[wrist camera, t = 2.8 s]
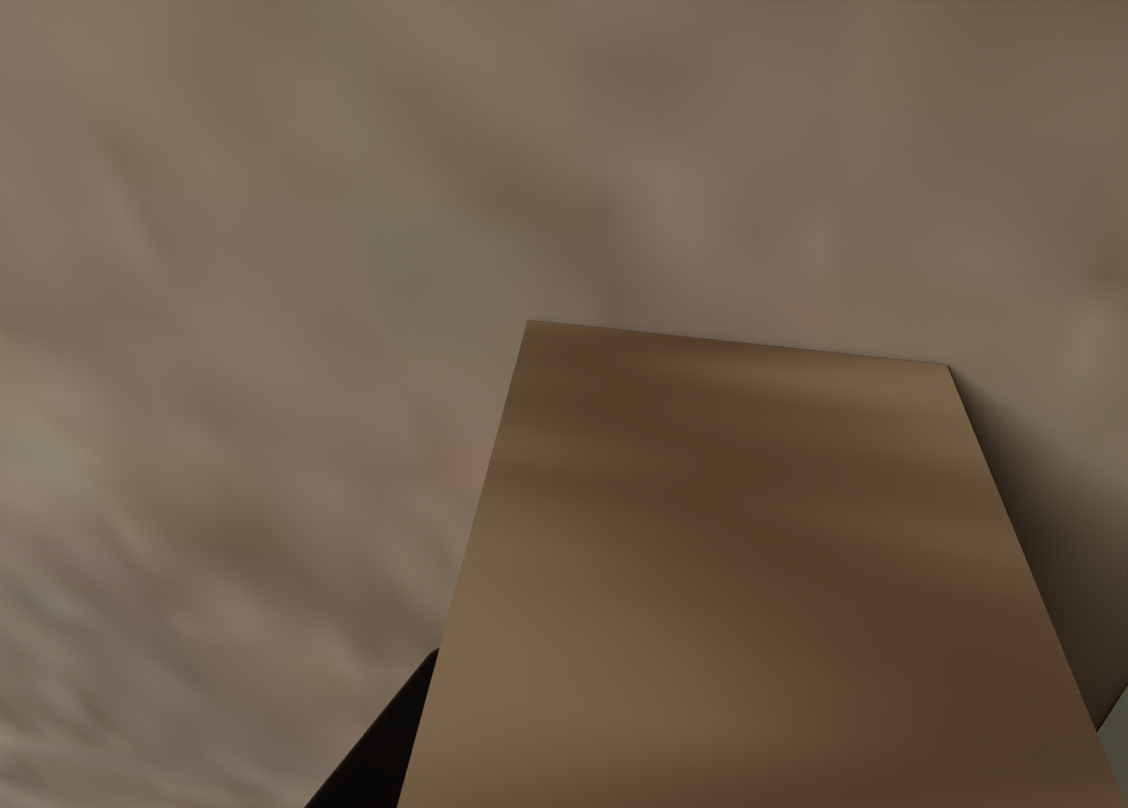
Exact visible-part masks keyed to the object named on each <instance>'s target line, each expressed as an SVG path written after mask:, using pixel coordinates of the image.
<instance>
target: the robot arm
mask: <svg viewBox="0 0 1128 808" xmlns="http://www.w3.org/2000/svg"><path fill="white" fill-rule="evenodd" d="M439 649H440V648H437V649H435V650H433V651H432V652H431V653H430V654H429V655H428V656H427V657H426V658H425V660H424V661H423V662H422V663H421V665H420V666H419V667H418V668H417V670H416V671H415V672H414V673H413V674H412V676H411V677H410V678H409V679H408V681H407V682H406V683H405V684H404V685H403V687H402V688H401V689H400V690H399V692H398V693H397V694H396V695H395V697H394V698H393V699H392V700H391V701H390V703H389V704H388V705H387V706H386V708H385V709H384V710H383V711H382V713H381V714H380V715H379V716H378V717H377V719H376V720H375V721H374V722H373V724H372V725H371V726H370V727H369V728H368V730H367V731H366V732H365V733H364V735H363V736H362V737H361V738H360V740H359V741H358V742H357V743H356V744H355V746H354V747H353V748H352V749H351V751H350V752H349V753H348V754H347V756H346V757H345V758H344V759H343V760H342V762H341V763H340V764H339V765H338V767H337V768H336V769H335V770H334V772H333V773H332V774H331V775H330V776H329V778H328V779H327V780H326V781H325V783H324V784H323V785H322V786H321V787H320V789H319V790H318V791H317V792H316V794H315V795H314V796H313V797H312V799H311V800H310V801H309V802H308V803H307V805H306V806H305V807H304V808H397V806H398V802H399V798H400V794H401V791H402V787H403V783H404V780H405V776H406V772H407V768H408V765H409V761H410V757H411V753H412V750H413V746H414V742H415V738H416V735H417V731H418V727H419V724H420V720H421V716H422V712H423V709H424V705H425V701H426V697H427V694H428V690H429V686H430V683H431V679H432V675H433V671H434V668H435V664H436V660H437V656H438V653H439Z"/></svg>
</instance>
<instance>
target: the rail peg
mask: <svg viewBox="0 0 1128 808" xmlns="http://www.w3.org/2000/svg"><path fill="white" fill-rule="evenodd" d="M397 808H1127V806H1126V803H1125V801H1124V798H1123V796H1122V793H1121V791H1120V789H1119V786H1118V784H1117V781H1116V779H1115V776H1114V774H1113V771H1112V769H1111V767H1110V764H1109V762H1108V759H1107V757H1106V754H1105V752H1104V749H1103V747H1102V744H1101V742H1100V740H1099V737H1098V735H1097V732H1096V730H1095V727H1094V725H1093V722H1092V720H1091V717H1090V715H1089V713H1088V710H1087V708H1086V705H1085V703H1084V700H1083V698H1082V695H1081V693H1080V691H1079V688H1078V686H1077V683H1076V681H1075V678H1074V676H1073V673H1072V671H1071V668H1070V666H1069V664H1068V661H1067V659H1066V656H1065V654H1064V651H1063V649H1062V646H1061V644H1060V642H1059V639H1058V637H1057V634H1056V632H1055V629H1054V627H1053V624H1052V622H1051V619H1050V617H1049V615H1048V612H1047V610H1046V607H1045V605H1044V602H1043V600H1042V597H1041V595H1040V592H1039V590H1038V588H1037V585H1036V583H1035V580H1034V578H1033V575H1032V573H1031V570H1030V568H1029V566H1028V563H1027V561H1026V558H1025V556H1024V553H1023V551H1022V548H1021V546H1020V543H1019V541H1018V539H1017V536H1016V534H1015V531H1014V529H1013V526H1012V524H1011V521H1010V519H1009V517H1008V514H1007V512H1006V509H1005V507H1004V504H1003V502H1002V499H1001V497H1000V494H999V492H998V490H997V487H996V485H995V482H994V480H993V477H992V475H991V472H990V470H989V467H988V465H987V463H986V460H985V458H984V455H983V453H982V450H981V448H980V445H979V443H978V441H977V438H976V436H975V433H974V431H973V428H972V426H971V423H970V421H969V418H968V416H967V414H966V411H965V409H964V406H963V404H962V401H961V399H960V396H959V394H958V392H957V389H956V387H955V384H954V382H953V379H952V377H951V374H950V372H949V369H948V367H947V365H943V364H934V363H925V362H915V361H906V360H896V359H887V358H878V357H868V356H859V355H850V354H840V353H831V352H822V351H812V350H803V349H793V348H784V347H775V346H765V345H756V344H747V343H737V342H728V341H719V340H709V339H700V338H690V337H681V336H672V335H662V334H653V333H644V332H634V331H625V330H616V329H606V328H597V327H587V326H578V325H569V324H559V323H550V322H541V321H531V320H528V321H527V324H526V328H525V332H524V336H523V339H522V343H521V347H520V351H519V354H518V358H517V362H516V365H515V369H514V373H513V377H512V380H511V384H510V388H509V392H508V395H507V399H506V403H505V407H504V410H503V414H502V418H501V421H500V425H499V429H498V433H497V436H496V440H495V444H494V448H493V451H492V455H491V459H490V462H489V466H488V470H487V474H486V477H485V481H484V485H483V489H482V492H481V496H480V500H479V503H478V507H477V511H476V515H475V518H474V522H473V526H472V530H471V533H470V537H469V541H468V545H467V548H466V552H465V556H464V559H463V563H462V567H461V571H460V574H459V578H458V582H457V586H456V589H455V593H454V597H453V600H452V604H451V608H450V612H449V615H448V619H447V623H446V627H445V630H444V634H443V638H442V642H441V645H440V649H439V653H438V656H437V660H436V664H435V668H434V671H433V675H432V679H431V683H430V686H429V690H428V694H427V697H426V701H425V705H424V709H423V712H422V716H421V720H420V724H419V727H418V731H417V735H416V738H415V742H414V746H413V750H412V753H411V757H410V761H409V765H408V768H407V772H406V776H405V780H404V783H403V787H402V791H401V794H400V798H399V802H398V806H397Z"/></svg>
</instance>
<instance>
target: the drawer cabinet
mask: <svg viewBox="0 0 1128 808" xmlns="http://www.w3.org/2000/svg"><path fill="white" fill-rule="evenodd" d="M1097 735H1098V737H1099V740H1100V742H1101V744H1102V747H1103V749H1104V752H1105V754H1106V757H1107V759H1108V762H1109V764H1110V767H1111V769H1112V771H1113V774H1114V776H1115V779H1116V781H1117V784H1118V786H1119V789H1120V791H1121V793H1122V796H1123V798H1124V801H1125V803H1126V806H1127V808H1128V686H1127V687H1126V689H1125V690H1124V692H1123V694H1122V695H1121V697H1120V698H1119V700H1118V701H1117V703H1116V704H1115V706H1114V707H1113V709H1112V711H1111V712H1110V714H1109V715H1108V717H1107V718H1106V720H1105V721H1104V723H1103V725H1102V726H1101V728H1100V729H1099V731H1098V732H1097Z"/></svg>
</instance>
